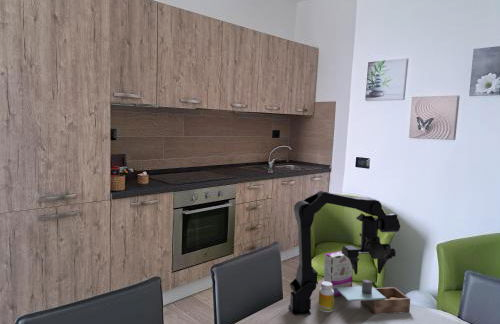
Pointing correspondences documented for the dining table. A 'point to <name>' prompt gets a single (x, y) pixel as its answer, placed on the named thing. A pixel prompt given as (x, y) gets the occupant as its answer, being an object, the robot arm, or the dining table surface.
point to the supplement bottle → (326, 297)
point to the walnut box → (389, 302)
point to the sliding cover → (361, 292)
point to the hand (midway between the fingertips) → (367, 273)
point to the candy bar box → (338, 271)
